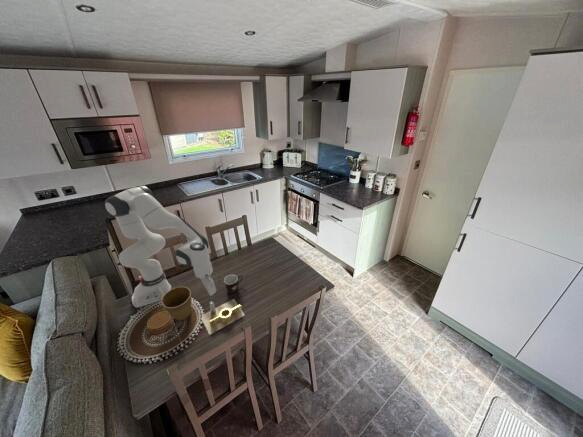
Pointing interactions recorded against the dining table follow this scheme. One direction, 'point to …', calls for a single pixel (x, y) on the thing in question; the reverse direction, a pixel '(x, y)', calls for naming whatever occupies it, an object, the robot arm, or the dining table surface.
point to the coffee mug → (232, 283)
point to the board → (208, 316)
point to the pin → (212, 308)
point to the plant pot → (178, 302)
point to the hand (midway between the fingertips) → (208, 289)
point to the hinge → (223, 317)
